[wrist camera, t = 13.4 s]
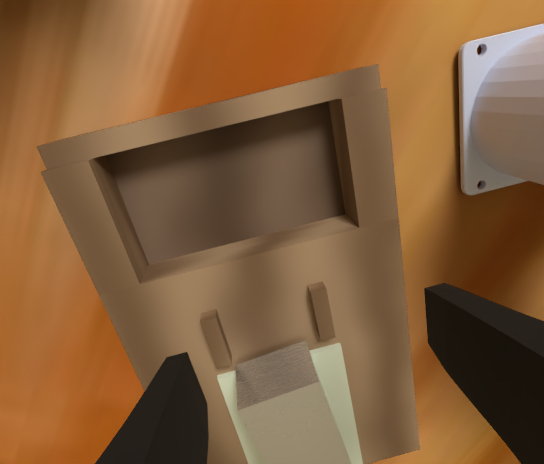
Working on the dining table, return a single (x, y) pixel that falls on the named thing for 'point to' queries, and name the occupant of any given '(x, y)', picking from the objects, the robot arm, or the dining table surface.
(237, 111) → the board
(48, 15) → the dining table surface
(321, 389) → the bar
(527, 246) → the dining table surface
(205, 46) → the dining table surface
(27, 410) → the dining table surface
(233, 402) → the pad
